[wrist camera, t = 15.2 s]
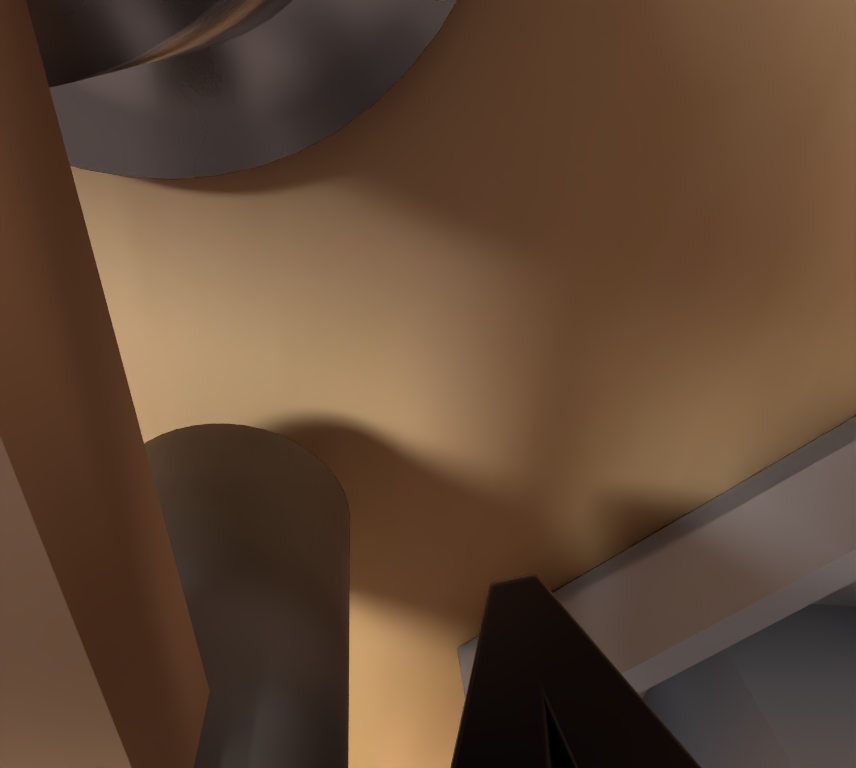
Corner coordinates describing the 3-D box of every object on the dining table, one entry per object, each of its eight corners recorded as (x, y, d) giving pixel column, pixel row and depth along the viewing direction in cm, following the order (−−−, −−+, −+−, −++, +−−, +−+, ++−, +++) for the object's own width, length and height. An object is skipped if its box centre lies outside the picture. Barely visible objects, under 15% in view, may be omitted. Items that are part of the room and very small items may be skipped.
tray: (863, 412, 13) (964, 491, 11) (976, 653, 18) (1064, 743, 15) (456, 648, 15) (473, 752, 13) (649, 807, 20) (684, 904, 18)
